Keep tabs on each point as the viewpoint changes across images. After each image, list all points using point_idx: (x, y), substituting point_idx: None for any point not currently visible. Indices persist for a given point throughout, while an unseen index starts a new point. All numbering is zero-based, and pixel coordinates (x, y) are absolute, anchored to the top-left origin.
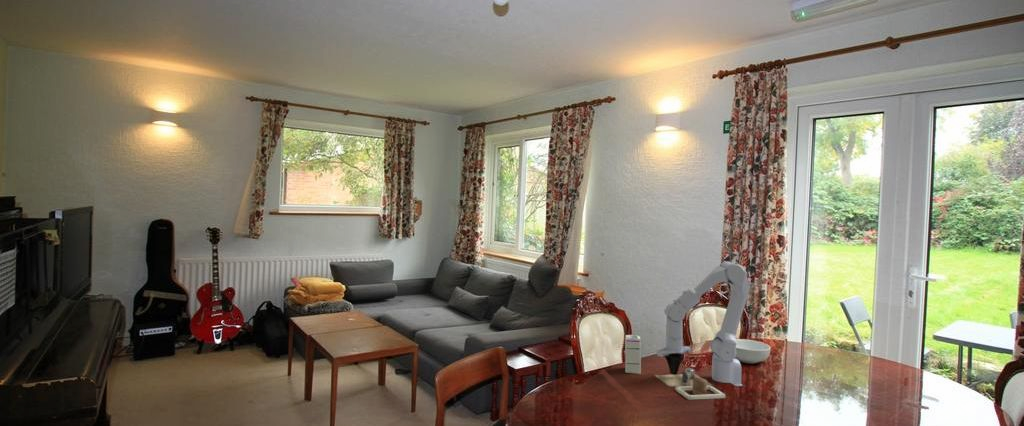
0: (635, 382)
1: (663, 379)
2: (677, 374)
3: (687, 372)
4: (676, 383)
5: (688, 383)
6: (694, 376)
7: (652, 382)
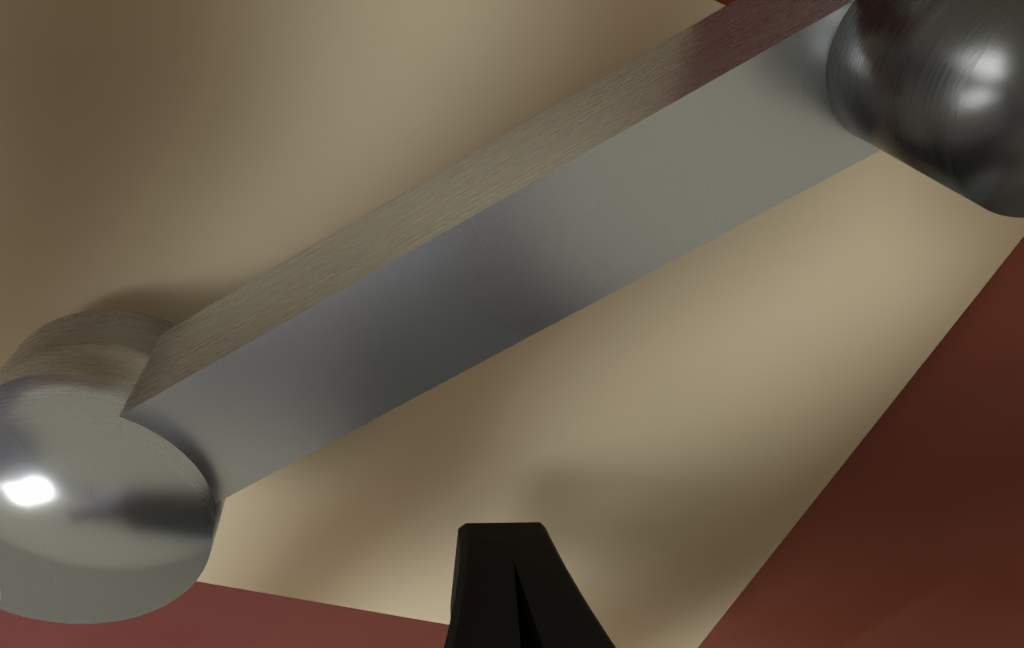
0: (980, 601)
1: (754, 497)
2: (270, 591)
3: (319, 418)
4: (766, 249)
5: (524, 117)
6: (59, 324)
7: (805, 536)
